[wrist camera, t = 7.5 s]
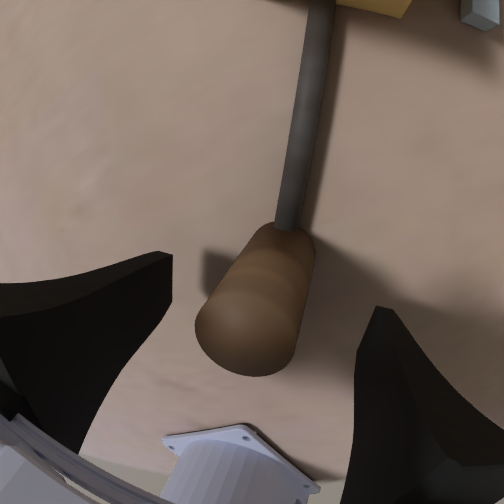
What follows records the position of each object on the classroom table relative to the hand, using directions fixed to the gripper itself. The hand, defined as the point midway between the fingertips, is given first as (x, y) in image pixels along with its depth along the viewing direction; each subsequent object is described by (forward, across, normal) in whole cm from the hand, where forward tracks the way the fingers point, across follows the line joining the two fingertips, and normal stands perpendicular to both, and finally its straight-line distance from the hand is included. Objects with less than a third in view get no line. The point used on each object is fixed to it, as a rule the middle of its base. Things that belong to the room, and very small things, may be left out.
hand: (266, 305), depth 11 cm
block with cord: (+2, 0, -8) cm, 8 cm away
